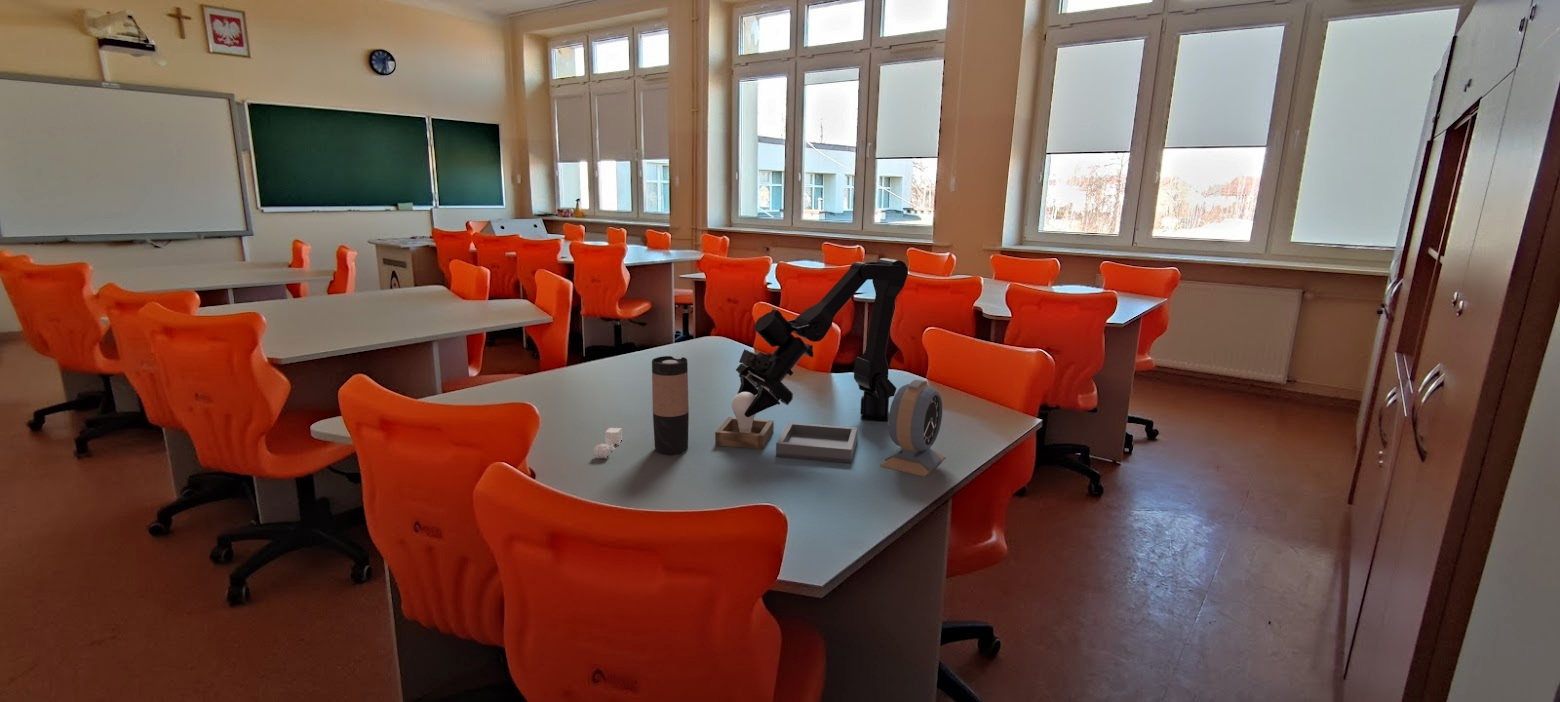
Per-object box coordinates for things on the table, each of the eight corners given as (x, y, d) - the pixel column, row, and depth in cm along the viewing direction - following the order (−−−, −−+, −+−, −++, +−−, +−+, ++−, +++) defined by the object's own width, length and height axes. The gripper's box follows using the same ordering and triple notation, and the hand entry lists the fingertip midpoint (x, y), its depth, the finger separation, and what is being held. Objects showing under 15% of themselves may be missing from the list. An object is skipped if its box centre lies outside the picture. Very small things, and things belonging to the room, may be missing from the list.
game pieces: (608, 441, 158) (608, 427, 157) (623, 441, 157) (622, 427, 157) (592, 461, 146) (591, 446, 145) (608, 461, 146) (607, 447, 145)
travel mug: (660, 457, 148) (657, 365, 143) (649, 446, 154) (646, 357, 150) (694, 452, 151) (693, 362, 146) (682, 440, 158) (680, 354, 153)
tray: (857, 440, 160) (857, 427, 159) (851, 463, 146) (851, 449, 146) (788, 434, 163) (788, 422, 162) (775, 456, 149) (776, 443, 149)
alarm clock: (922, 478, 139) (928, 393, 135) (877, 467, 144) (881, 385, 140) (946, 456, 151) (952, 377, 147) (904, 446, 156) (908, 370, 152)
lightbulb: (762, 436, 161) (762, 390, 159) (752, 444, 156) (753, 397, 153) (737, 432, 163) (737, 387, 161) (727, 441, 158) (727, 394, 155)
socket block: (773, 432, 164) (773, 420, 163) (763, 449, 153) (763, 436, 153) (728, 428, 166) (728, 416, 165) (715, 445, 155) (715, 432, 155)
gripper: (743, 329, 164) (700, 380, 161) (781, 345, 148) (733, 402, 145) (773, 358, 169) (731, 408, 167) (812, 377, 153) (767, 432, 151)
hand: (739, 411), depth 157 cm, fingers closed on lightbulb, 6 cm apart
